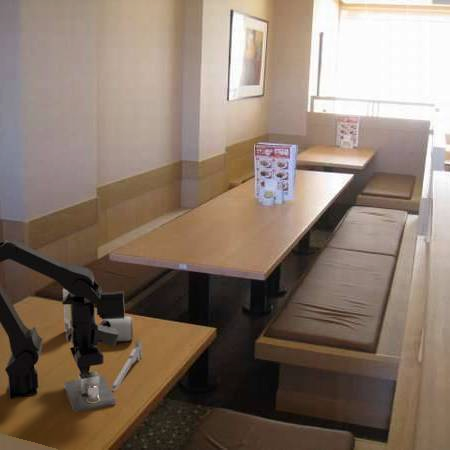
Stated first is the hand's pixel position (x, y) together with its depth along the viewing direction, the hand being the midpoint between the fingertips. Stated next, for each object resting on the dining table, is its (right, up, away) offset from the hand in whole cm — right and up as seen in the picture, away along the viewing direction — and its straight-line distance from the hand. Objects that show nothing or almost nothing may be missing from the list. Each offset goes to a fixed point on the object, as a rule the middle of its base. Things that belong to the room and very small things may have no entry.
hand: (85, 377), depth 162 cm
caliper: (+9, -2, +9) cm, 13 cm away
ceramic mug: (+3, +4, +31) cm, 32 cm away
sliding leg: (+2, -2, -4) cm, 5 cm away
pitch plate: (+2, -4, -3) cm, 5 cm away
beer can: (-11, +5, +35) cm, 37 cm away
